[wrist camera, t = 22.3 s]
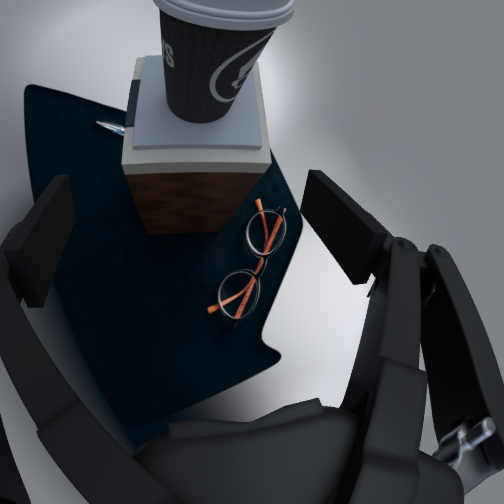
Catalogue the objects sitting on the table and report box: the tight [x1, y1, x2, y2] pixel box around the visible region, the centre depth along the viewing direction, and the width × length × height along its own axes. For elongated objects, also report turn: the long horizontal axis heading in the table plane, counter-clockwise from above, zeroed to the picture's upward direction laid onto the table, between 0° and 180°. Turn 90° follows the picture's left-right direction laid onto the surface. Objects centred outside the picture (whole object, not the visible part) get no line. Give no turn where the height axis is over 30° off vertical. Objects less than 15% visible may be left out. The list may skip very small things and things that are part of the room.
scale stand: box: [125, 172, 264, 235], centre depth 42 cm, size 14×14×28 cm
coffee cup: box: [153, 0, 295, 124], centre depth 18 cm, size 10×10×15 cm
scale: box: [122, 55, 271, 175], centre depth 27 cm, size 14×14×3 cm
